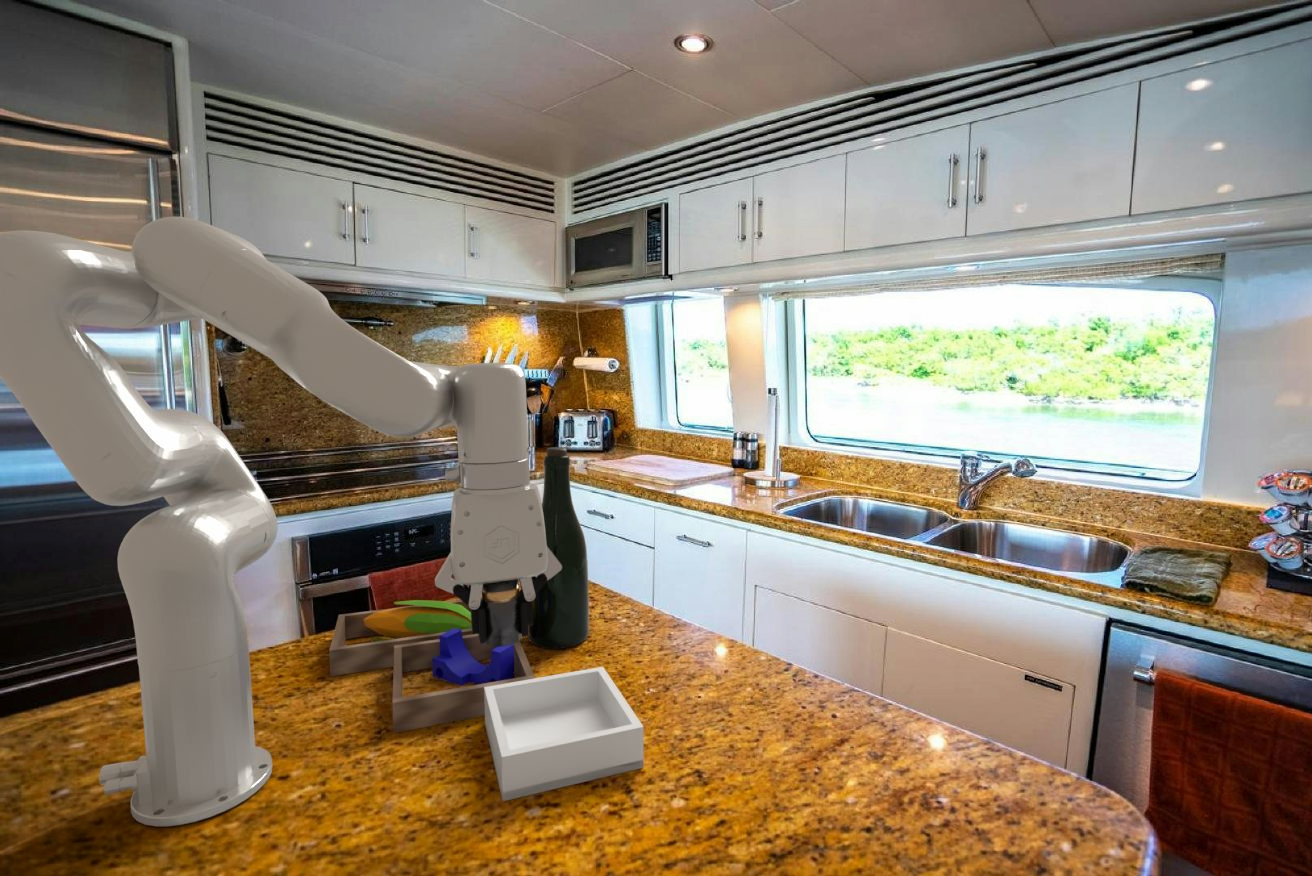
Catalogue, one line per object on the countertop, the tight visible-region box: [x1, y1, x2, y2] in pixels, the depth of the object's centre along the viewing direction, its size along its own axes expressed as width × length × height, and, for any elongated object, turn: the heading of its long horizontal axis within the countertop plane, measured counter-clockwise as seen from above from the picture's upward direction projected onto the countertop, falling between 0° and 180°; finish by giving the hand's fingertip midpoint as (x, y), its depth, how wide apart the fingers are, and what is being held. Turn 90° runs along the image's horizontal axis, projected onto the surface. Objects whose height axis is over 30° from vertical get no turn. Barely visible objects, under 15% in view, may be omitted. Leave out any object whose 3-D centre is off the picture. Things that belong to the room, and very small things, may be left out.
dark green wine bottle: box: [527, 446, 590, 650], centre depth 107 cm, size 10×10×33 cm
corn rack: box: [328, 596, 483, 677], centre depth 107 cm, size 28×15×4 cm, turn 112°
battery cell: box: [481, 579, 522, 647], centre depth 71 cm, size 4×4×8 cm
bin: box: [484, 666, 645, 802], centre depth 77 cm, size 16×16×5 cm
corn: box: [364, 599, 472, 642], centre depth 106 cm, size 7×8×20 cm
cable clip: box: [432, 628, 516, 687], centre depth 94 cm, size 12×4×6 cm, turn 61°
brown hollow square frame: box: [392, 634, 536, 734], centre depth 91 cm, size 18×18×4 cm
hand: (503, 633), depth 72 cm, fingers closed on battery cell, 4 cm apart
